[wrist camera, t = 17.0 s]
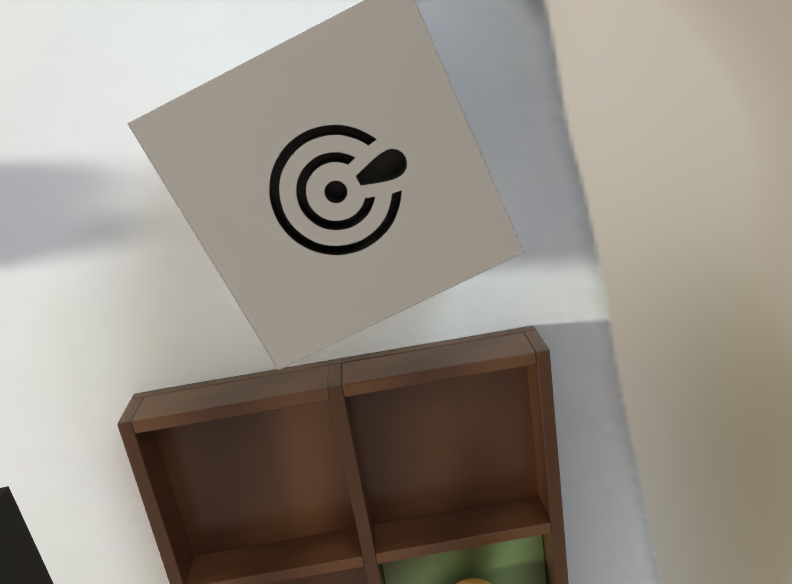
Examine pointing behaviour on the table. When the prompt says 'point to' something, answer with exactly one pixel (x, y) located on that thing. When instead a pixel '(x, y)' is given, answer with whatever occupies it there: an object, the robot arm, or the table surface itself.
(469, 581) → the figurine
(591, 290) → the table surface
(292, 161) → the icon cube
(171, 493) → the grid
